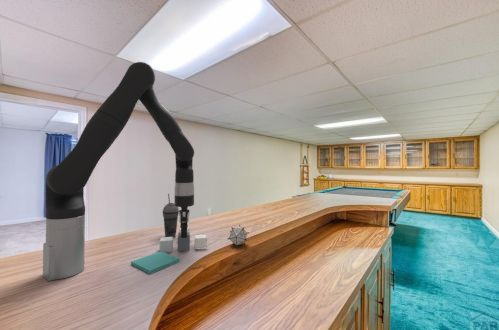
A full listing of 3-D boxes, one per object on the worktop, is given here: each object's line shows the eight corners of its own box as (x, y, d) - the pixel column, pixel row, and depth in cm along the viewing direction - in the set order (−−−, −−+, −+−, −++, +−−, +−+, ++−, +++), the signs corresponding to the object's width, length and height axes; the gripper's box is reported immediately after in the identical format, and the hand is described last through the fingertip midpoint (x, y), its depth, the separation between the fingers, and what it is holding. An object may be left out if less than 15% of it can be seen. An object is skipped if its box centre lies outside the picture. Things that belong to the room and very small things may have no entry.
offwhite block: (206, 249, 88) (206, 237, 88) (194, 250, 87) (195, 238, 87) (205, 245, 93) (205, 234, 93) (194, 246, 91) (194, 235, 91)
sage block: (189, 242, 96) (189, 231, 96) (178, 242, 95) (178, 232, 95) (189, 238, 100) (189, 228, 101) (179, 239, 99) (179, 229, 99)
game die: (237, 252, 95) (240, 229, 101) (251, 249, 90) (254, 226, 96) (221, 245, 90) (225, 222, 96) (235, 242, 85) (239, 218, 91)
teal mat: (149, 274, 67) (149, 270, 67) (131, 264, 74) (131, 261, 74) (179, 261, 76) (179, 258, 76) (160, 253, 83) (160, 251, 83)
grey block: (172, 252, 85) (172, 240, 85) (159, 253, 84) (159, 241, 84) (172, 247, 89) (172, 236, 89) (160, 248, 88) (161, 237, 88)
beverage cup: (175, 239, 99) (176, 194, 99) (159, 239, 99) (159, 194, 99) (180, 234, 106) (181, 192, 106) (165, 234, 106) (166, 192, 107)
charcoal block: (189, 250, 87) (189, 235, 87) (177, 251, 85) (177, 235, 85) (189, 246, 91) (189, 231, 91) (178, 247, 90) (178, 232, 90)
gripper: (194, 195, 83) (194, 239, 83) (193, 191, 96) (193, 228, 96) (173, 196, 81) (173, 241, 81) (175, 191, 94) (175, 229, 94)
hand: (184, 234), depth 88 cm, fingers open, 8 cm apart
